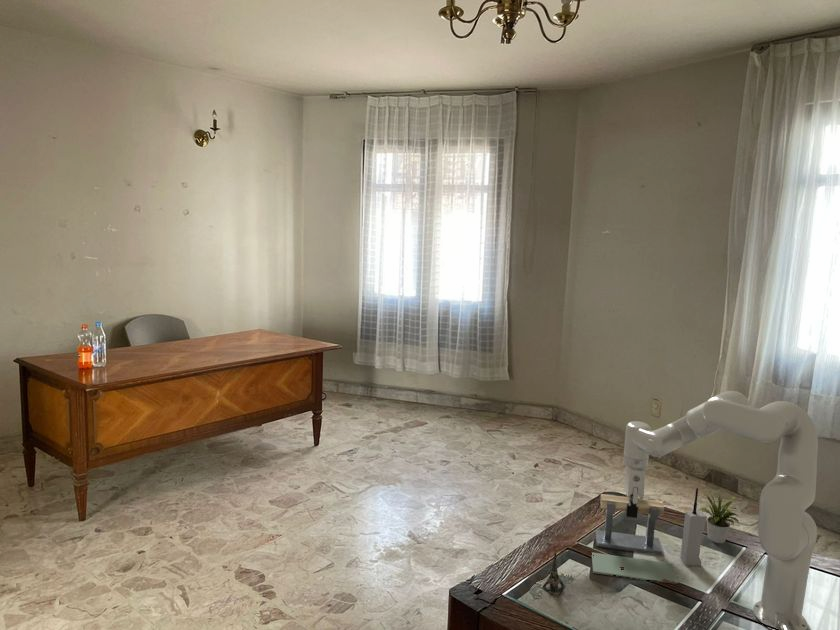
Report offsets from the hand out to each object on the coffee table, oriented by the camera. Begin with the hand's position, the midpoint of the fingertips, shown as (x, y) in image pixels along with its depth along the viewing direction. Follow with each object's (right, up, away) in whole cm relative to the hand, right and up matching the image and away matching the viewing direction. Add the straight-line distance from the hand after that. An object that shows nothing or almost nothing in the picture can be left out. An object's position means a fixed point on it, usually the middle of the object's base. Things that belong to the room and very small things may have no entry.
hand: (630, 512), depth 194 cm
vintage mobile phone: (+16, -13, -7) cm, 22 cm away
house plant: (+29, -11, +6) cm, 32 cm away
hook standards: (0, -11, +2) cm, 11 cm away
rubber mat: (-3, -13, -11) cm, 18 cm away
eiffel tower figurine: (-30, -15, -20) cm, 39 cm away
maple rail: (0, +1, 0) cm, 1 cm away
